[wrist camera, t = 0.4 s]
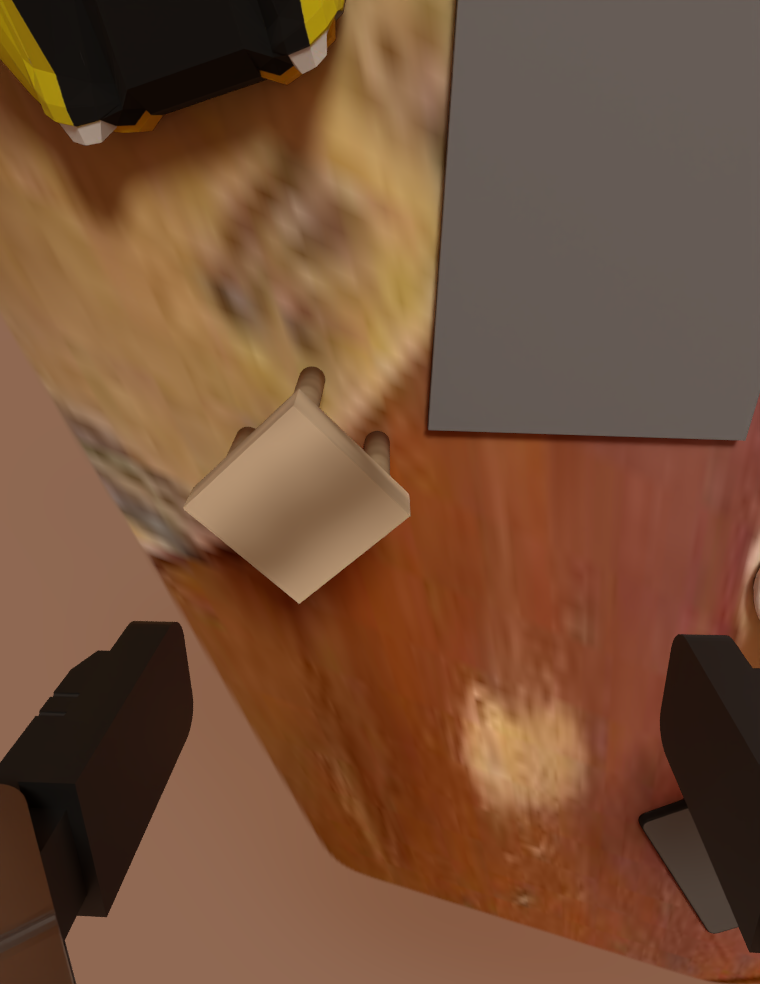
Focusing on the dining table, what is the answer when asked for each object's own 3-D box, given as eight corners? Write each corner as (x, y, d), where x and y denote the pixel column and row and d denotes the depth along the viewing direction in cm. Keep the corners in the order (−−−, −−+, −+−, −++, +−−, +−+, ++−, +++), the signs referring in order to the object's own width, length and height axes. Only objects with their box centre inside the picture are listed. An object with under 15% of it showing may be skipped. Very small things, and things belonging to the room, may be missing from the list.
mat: (459, -40, 25) (460, -43, 25) (875, -24, 25) (885, -27, 25) (427, 425, 34) (428, 430, 33) (739, 435, 34) (745, 440, 33)
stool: (219, 437, 34) (182, 508, 28) (311, 349, 32) (294, 405, 26) (314, 520, 36) (299, 603, 30) (406, 443, 34) (410, 515, 28)
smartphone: (710, 936, 53) (638, 823, 46) (705, 924, 53) (634, 811, 47) (803, 909, 51) (742, 788, 45) (797, 896, 52) (735, 776, 46)
